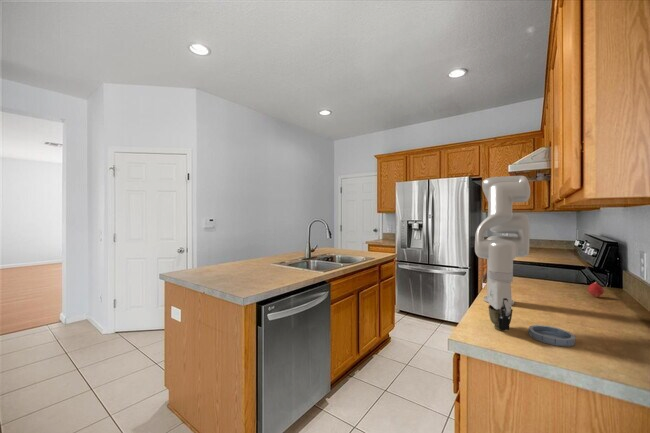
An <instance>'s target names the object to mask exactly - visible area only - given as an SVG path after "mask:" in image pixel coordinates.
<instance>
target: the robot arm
mask: <svg viewBox="0 0 650 433" xmlns="http://www.w3.org/2000/svg"><path fill="white" fill-rule="evenodd" d="M481 185H482V192H483V193H484V196H485V198H486V201H487V206H488V207H487V216H486V218H485V219H483V220H482V221H481V222H480V223H479V225H478V226H477V229H476V231H475V237H474V253H475V255H476V256H477V258H480V259H486V262H487V263H486V265H487V266H486V268H487V271H486V273H487V274H486V284H487V285H486V295H485V296H483V301H484V302H486V303H488V305H491V306H492V307H494V308H495V309H496V310H498V309H499V315H500V318H499V329H500V330H505V331H510V324H509V319H510V313H511V309H512V306H514V305H515V301H514V300H513V299H512V298H513V297H512V285H511V284H512V283H513V282H514V260H515V259H516V258H525V257H528V255H529V253H530V236H531V235H530V234H531V233H530V231H531V230H530V228H531V227H530V219H529V217H528V215H527V214H525V213H521V212H518V213H517V212H515V213H513V203H525V202H528V201H529V200H530V197H531V185H530V182H529V180H528V178H527V177H526V176H525V175H511V176H509V175H508V176H492V177H487V178H485V179H483V181H482V184H481ZM487 231H491V232H492V233H496V234H514V235H517V236H512V235H511V236H510V235H508V236H507V235H491V236H488V237H487V238H486V239H484V234H485V233H486V232H487ZM501 308H505V309H501ZM502 311H505V312H503V314H502ZM500 330H499V331H500Z"/></svg>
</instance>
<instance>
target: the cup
mask: <svg viewBox="0 0 650 433" xmlns="http://www.w3.org/2000/svg"><path fill="white" fill-rule="evenodd" d="M501 309H505V308H501ZM503 312H505V311H502V314H503ZM488 314H489V319H490V322H491V323H492V324H493V327H494V328H495V330H497V331H502V332H505V331H506V330H500V329H499V318H500V315H499V309H498V310H496V309H495V308H494V307H492V306H491V305H490V304H488ZM512 317H513V308H511V313H510V319H509V325H510V324H511V322H512Z"/></svg>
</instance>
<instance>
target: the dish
mask: <svg viewBox="0 0 650 433" xmlns="http://www.w3.org/2000/svg"><path fill="white" fill-rule="evenodd" d="M528 335H529V337H530V338H532V339H534V340H536V341H538V342H541V343H544V344H546V345H552V346H556V347H566V348H567V347H574V346H575V345H576V335H574V334H573V333H571V332H570V331H567V330H564V329H561V328H558V327H554V326H549V325H542V324H541V325H540V324H535V325H534V324H533V325H529V327H528Z"/></svg>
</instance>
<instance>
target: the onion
mask: <svg viewBox="0 0 650 433" xmlns="http://www.w3.org/2000/svg"><path fill="white" fill-rule="evenodd" d="M587 292H588V293H589V294H590V295H591V296H593V297H594V298H599V297H600V296H602V295H603V294H604V293H605V292H604V288H603V287H602V285H600V284H599V283H598V282H597V281H595V282H593V283H591V284H589V286H588V287H587Z"/></svg>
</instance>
